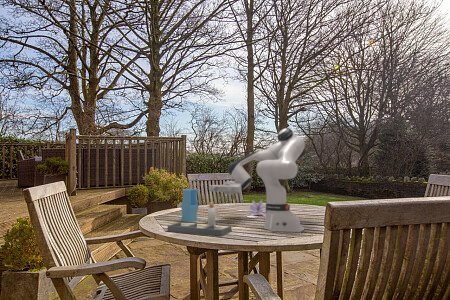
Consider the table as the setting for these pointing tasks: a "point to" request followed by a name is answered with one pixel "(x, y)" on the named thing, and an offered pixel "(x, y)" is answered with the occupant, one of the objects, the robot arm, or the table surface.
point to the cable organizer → (199, 229)
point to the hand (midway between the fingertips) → (220, 189)
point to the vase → (189, 205)
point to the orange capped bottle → (211, 215)
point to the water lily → (257, 208)
